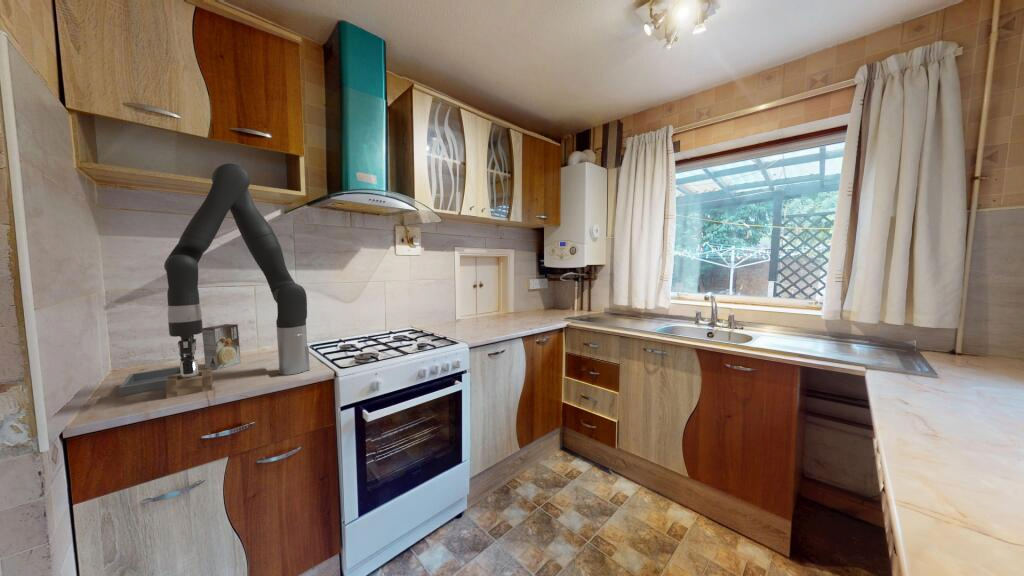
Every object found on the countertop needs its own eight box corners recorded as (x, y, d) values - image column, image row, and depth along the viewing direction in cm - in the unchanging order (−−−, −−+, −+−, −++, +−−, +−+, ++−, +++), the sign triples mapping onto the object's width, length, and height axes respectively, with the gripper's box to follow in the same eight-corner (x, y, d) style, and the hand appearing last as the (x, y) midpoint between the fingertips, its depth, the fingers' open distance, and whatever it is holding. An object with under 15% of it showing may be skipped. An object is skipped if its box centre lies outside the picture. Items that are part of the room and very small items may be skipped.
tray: (187, 374, 123) (187, 365, 123) (184, 387, 111) (183, 377, 110) (130, 384, 114) (129, 374, 114) (119, 399, 101) (118, 387, 101)
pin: (200, 386, 109) (197, 358, 108) (199, 389, 106) (197, 361, 105) (182, 389, 106) (180, 361, 106) (181, 392, 103) (179, 364, 103)
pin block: (212, 384, 113) (211, 368, 113) (212, 393, 106) (211, 375, 105) (170, 392, 107) (169, 375, 106) (167, 401, 99) (165, 383, 99)
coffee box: (228, 362, 139) (226, 323, 138) (241, 362, 138) (238, 324, 137) (204, 369, 130) (201, 327, 129) (217, 369, 129) (214, 328, 128)
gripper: (201, 320, 102) (205, 373, 103) (202, 315, 112) (206, 363, 113) (165, 323, 97) (170, 379, 98) (170, 317, 107) (174, 367, 109)
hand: (189, 370), depth 106 cm, fingers open, 8 cm apart
